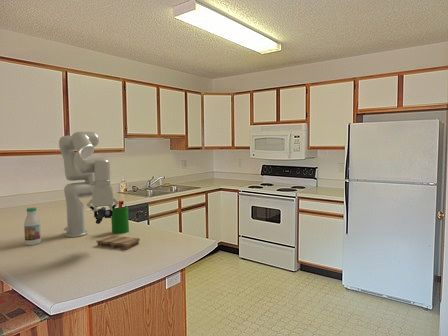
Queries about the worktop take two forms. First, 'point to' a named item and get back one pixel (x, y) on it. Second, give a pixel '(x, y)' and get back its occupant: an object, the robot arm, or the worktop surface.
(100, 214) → the can opener
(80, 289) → the worktop surface
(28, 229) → the milk bottle
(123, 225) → the motor
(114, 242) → the stand
